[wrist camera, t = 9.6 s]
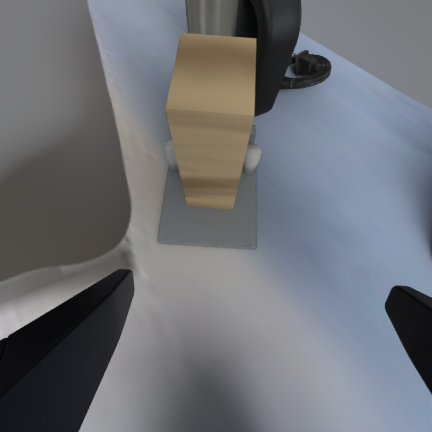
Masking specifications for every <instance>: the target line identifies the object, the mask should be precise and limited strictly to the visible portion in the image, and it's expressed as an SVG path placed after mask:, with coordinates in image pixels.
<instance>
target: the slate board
mask: <svg viewBox="0 0 432 432" xmlns="http://www.w3.org/2000/svg"><path fill="white" fill-rule="evenodd" d="M254 138H255V125H252V128H251V133H250V137H249V141H248V146H247V150H246V154H245V159H244V163H243V167H242V172H241V176H240V180H239V185H238V189H237V193H236V198H235V202H234V206H233V210H231V209H219V208H207V207H195V206H187V203H186V199H185V194H184V190H183V185H182V181H181V177H180V172H179V168H178V163H177V159H176V154H175V150H174V145H173V141H172V139H170V140H168V141H166V142H165V144H164V150H165V153H166V157H167V160H168V164H169V168H168V175H167V181H166V188H165V194H164V201H163V208H162V214H161V221H160V227H159V234H158V240H157V241H158V242H159V244H172V245H189V246H206V247H223V248H239V249H256V247H257V212H256V169H257V166H258V163H259V160H260V157H261V154H262V149H261V148H260V147H259V146H258V145H256V144H253V142H254Z"/></svg>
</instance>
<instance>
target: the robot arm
mask: <svg viewBox="0 0 432 432" xmlns="http://www.w3.org/2000/svg"><path fill="white" fill-rule="evenodd" d="M133 296H134V279H133V272H132V270H130V269H119V270H117V271H115V272H113V273H112V274H110V275H108V276H107V277H105V278H103V279H102V280H100V281H98V282H97V283H95V284H93V285H92V286H90V287H88V288H87V289H85V290H84V291H82V292H80V293H79V294H77V295H75V296H74V297H72V298H70V299H69V300H67V301H65V302H64V303H62V304H60V305H59V306H57V307H55V308H54V309H52V310H50V311H49V312H47V313H45V314H44V315H42V316H40V317H39V318H37V319H35V320H34V321H32V322H30V323H29V324H27V325H25V326H24V327H22V328H20V329H19V330H17V331H15V332H14V333H12V334H10V335H9V336H8V338H4V339H2V340H0V432H79V430H80V427H81V425H82V423H83V420H84V418H85V416H86V414H87V411H88V409H89V407H90V405H91V402H92V400H93V398H94V396H95V393H96V391H97V389H98V387H99V384H100V382H101V380H102V378H103V375H104V373H105V371H106V369H107V366H108V364H109V362H110V360H111V357H112V355H113V353H114V350H115V348H116V346H117V344H118V341H119V339H120V336H121V333H122V330H123V327H124V324H125V321H126V318H127V315H128V311H129V308H130V305H131V302H132V299H133ZM385 310H386V312H387V314H388V316H389V318H390V320H391V322H392V324H393V326H394V328H395V330H396V332H397V334H398V336H399V338H400V341H401V343H402V345H403V347H404V348H405V350H406V352H407V354H408V356H409V358H410V359H411V361H412V363H413V365H414V366H415V368H416V370H417V371H418V373H419V374H420V376H421V378H422V379H423V381H424V383H425V384H426V386H427V388H428V389H429V391H430V392H431V394H432V298H431V297H429V296H427V295H425V294H423V293H421V292H419V291H417V290H415V289H413V288H411V287H408V286H394V287H393V288H392V289H391V291H390V293H389V296H388V298H387V300H386V302H385Z"/></svg>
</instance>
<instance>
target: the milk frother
mask: <svg viewBox="0 0 432 432" xmlns="http://www.w3.org/2000/svg"><path fill="white" fill-rule="evenodd" d="M185 4H186V15H187V25H188V33H191V34H204V35H217V36H230V37H243V38H255V39H256V73H255V111H254V116H257V115H261V114H264V113H266V112H268V111H270V110H271V109H272V107H273V104H274V102H275V99H276V97H277V94H278V91H279V89H299V88H305V87H309V86H313V85H316V84H319V83H321V82H323V81H324V80H325V79H327V78H328V77H329V75H330V71H331V67H332V66H331V64H330V61H329V60H328V59H326V58H325V57H323V56H320V55H314V54H309V51H308V50H304V51H302V52H300V53H299V54H298V55H296V53H293V51H294V48H295V46H296V43H297V40H298V36H299V31H300V25H301V11H302V10H301V0H185ZM294 63H295V74H296V76H298V75H300V74H301V75H312V76H309V77H308V76H307V77H301V78H289V77H286V76H285V73H286V70H287V67H288V66H289V65H290V64H294Z"/></svg>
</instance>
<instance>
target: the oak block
mask: <svg viewBox="0 0 432 432" xmlns="http://www.w3.org/2000/svg"><path fill="white" fill-rule="evenodd" d="M255 73H256V39H255V38H243V37H230V36H217V35H204V34H191V33H181V37H180V42H179V46H178V51H177V56H176V60H175V65H174V70H173V74H172V79H171V84H170V88H169V93H168V98H167V103H166V107H165V110H166V114H167V119H168V123H169V128H170V132H171V136H172V141H173V145H174V150H175V154H176V159H177V163H178V168H179V172H180V177H181V181H182V185H183V190H184V194H185V199H186V203H187V206H195V207H207V208H219V209H231V210H233V206H234V202H235V198H236V193H237V189H238V185H239V180H240V176H241V172H242V167H243V163H244V159H245V154H246V150H247V146H248V141H249V137H250V133H251V128H252V124H253V119H254V111H255Z"/></svg>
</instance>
